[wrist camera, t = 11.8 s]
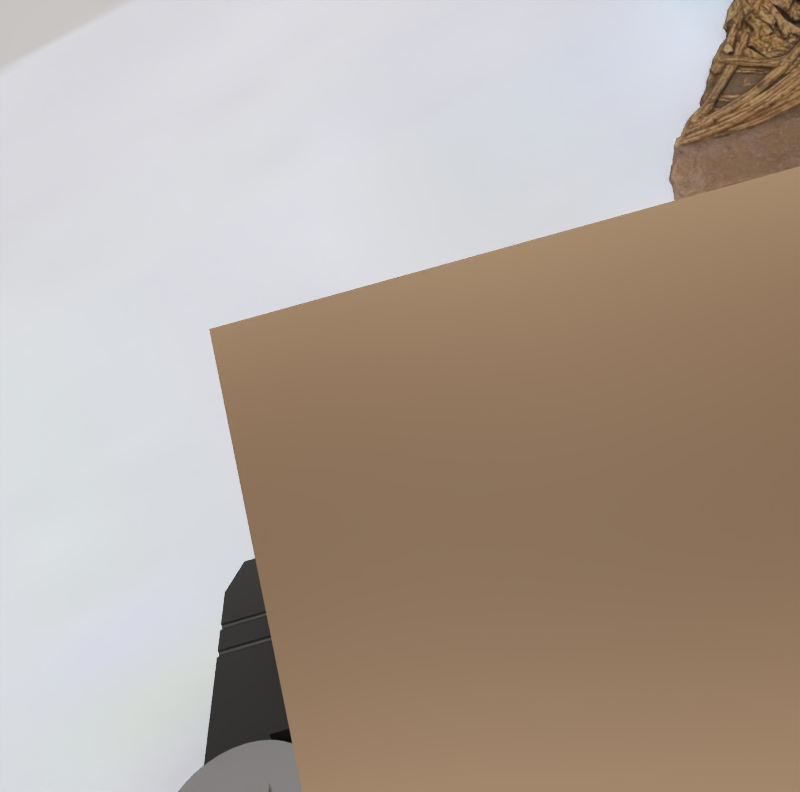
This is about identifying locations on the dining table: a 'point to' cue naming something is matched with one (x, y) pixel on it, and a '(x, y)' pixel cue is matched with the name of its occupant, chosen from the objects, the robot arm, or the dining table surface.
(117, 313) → the dining table surface
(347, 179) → the dining table surface
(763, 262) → the walnut block
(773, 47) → the wooden fragment
